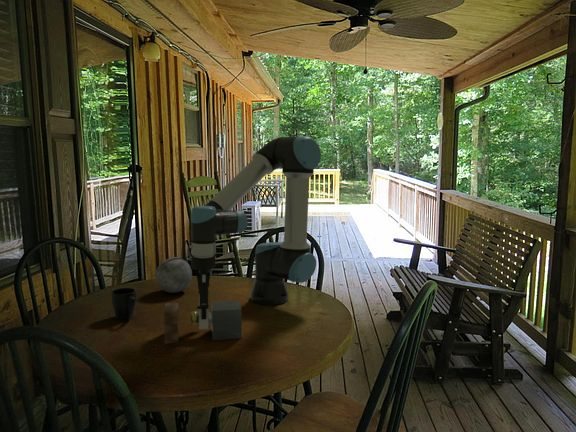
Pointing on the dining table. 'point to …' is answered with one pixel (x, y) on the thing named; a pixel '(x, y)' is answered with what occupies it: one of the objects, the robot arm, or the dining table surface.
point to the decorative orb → (173, 275)
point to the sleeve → (226, 320)
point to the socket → (171, 323)
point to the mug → (123, 302)
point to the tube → (196, 317)
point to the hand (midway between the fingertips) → (203, 320)
